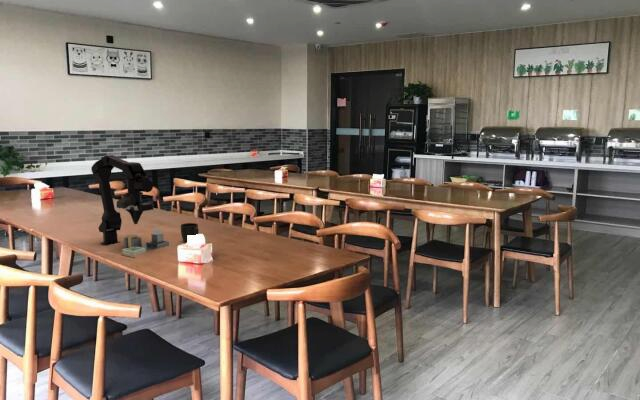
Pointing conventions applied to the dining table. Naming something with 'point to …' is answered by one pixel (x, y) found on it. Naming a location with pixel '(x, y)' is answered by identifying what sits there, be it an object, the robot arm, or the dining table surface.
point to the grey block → (157, 236)
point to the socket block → (144, 244)
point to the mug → (188, 230)
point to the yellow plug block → (130, 239)
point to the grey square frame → (133, 251)
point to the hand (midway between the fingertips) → (135, 224)
